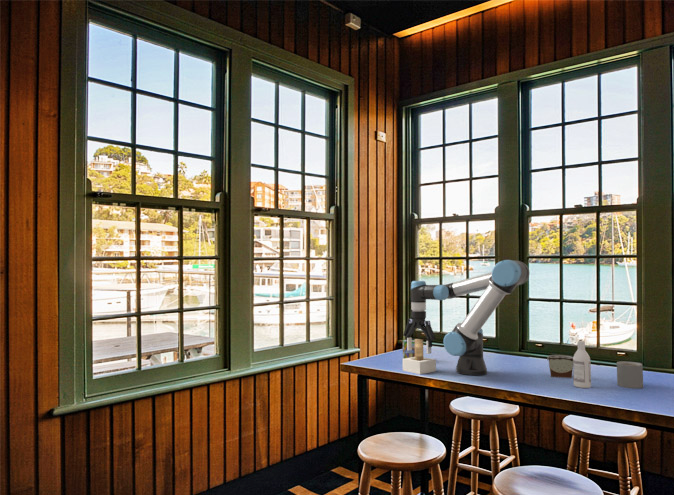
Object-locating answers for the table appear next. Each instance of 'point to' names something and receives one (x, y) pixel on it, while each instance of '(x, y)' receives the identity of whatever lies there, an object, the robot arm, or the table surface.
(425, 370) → the socket block
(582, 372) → the bath foam
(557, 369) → the food container
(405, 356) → the juice carton
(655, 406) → the table surface
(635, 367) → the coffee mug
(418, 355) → the oak peg
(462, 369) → the robot arm
